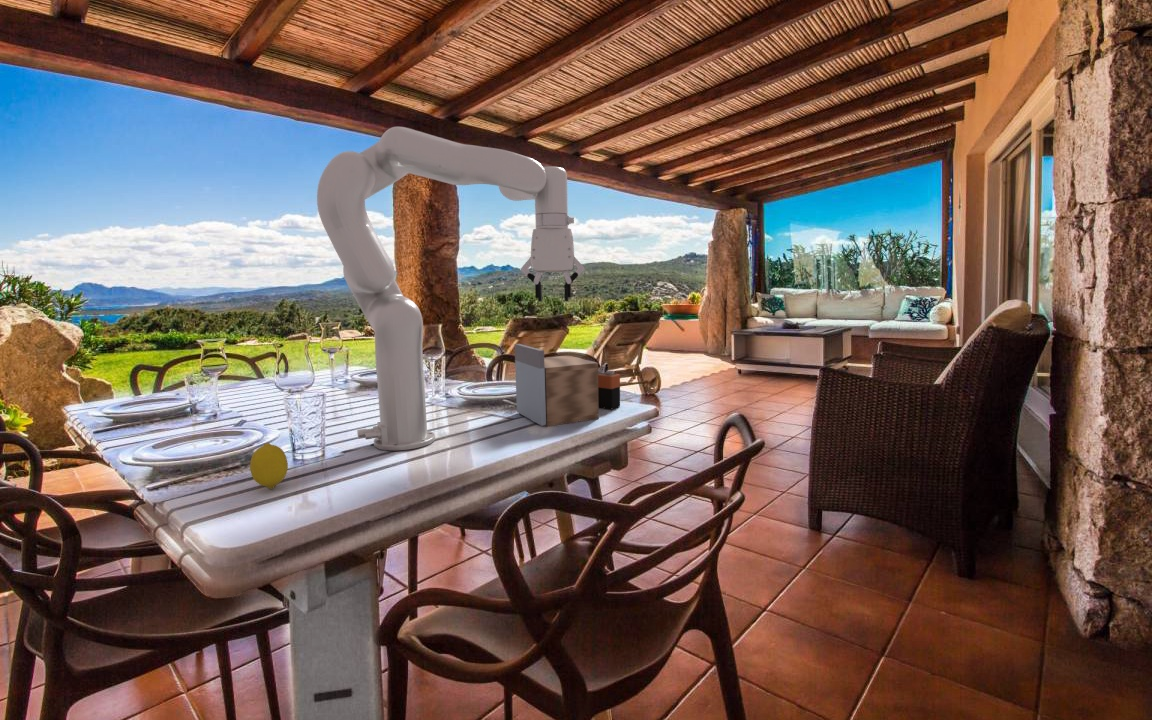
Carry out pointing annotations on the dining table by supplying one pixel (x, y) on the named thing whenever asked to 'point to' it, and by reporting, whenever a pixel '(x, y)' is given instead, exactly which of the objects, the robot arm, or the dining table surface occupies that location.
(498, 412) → the dining table surface
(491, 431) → the dining table surface
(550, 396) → the cubby
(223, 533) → the dining table surface
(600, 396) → the battery
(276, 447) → the lemon
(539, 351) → the door
